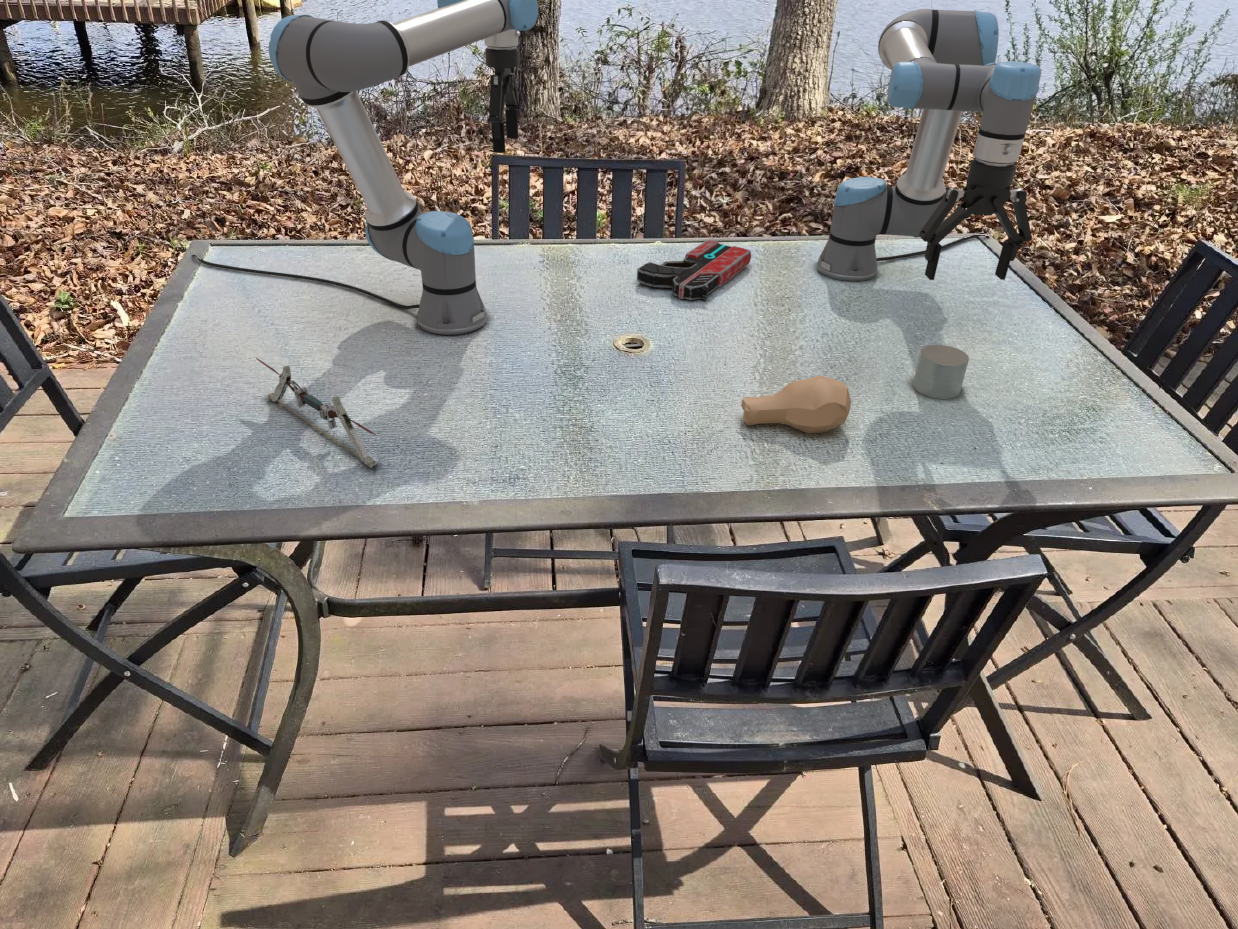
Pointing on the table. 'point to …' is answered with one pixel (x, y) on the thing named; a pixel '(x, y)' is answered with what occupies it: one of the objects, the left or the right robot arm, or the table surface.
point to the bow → (322, 411)
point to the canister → (940, 371)
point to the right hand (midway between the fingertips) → (964, 277)
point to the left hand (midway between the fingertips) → (506, 144)
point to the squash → (802, 405)
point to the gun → (697, 270)
